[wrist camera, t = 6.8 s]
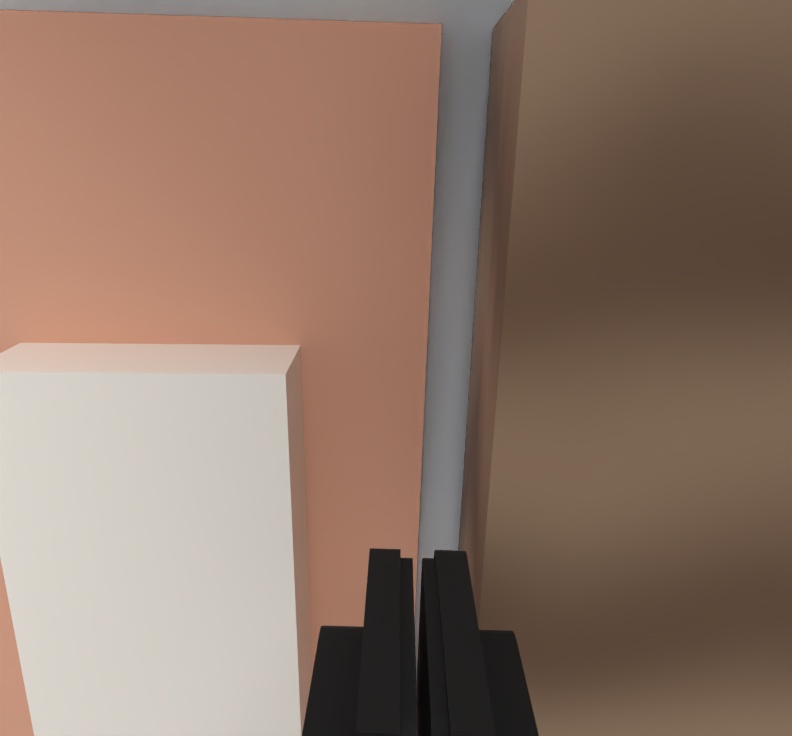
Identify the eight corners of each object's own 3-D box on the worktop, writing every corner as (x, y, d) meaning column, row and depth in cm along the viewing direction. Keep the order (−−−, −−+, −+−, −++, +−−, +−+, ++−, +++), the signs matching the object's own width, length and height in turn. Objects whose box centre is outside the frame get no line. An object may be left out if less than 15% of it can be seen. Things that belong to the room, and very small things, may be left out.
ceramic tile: (285, 374, 13) (300, 345, 15) (-36, 371, 13) (20, 342, 15) (302, 753, 16) (312, 687, 18) (37, 749, 16) (76, 684, 18)
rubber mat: (-186, 7, 13) (-203, 2, 13) (440, 27, 13) (441, 23, 13) (-25, 803, 19) (-34, 816, 19) (404, 816, 19) (405, 829, 19)
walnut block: (492, 28, 13) (529, -19, 10) (1116, 49, 13) (1402, 9, 10) (440, 817, 19) (450, 981, 16) (870, 830, 19) (984, 997, 16)
